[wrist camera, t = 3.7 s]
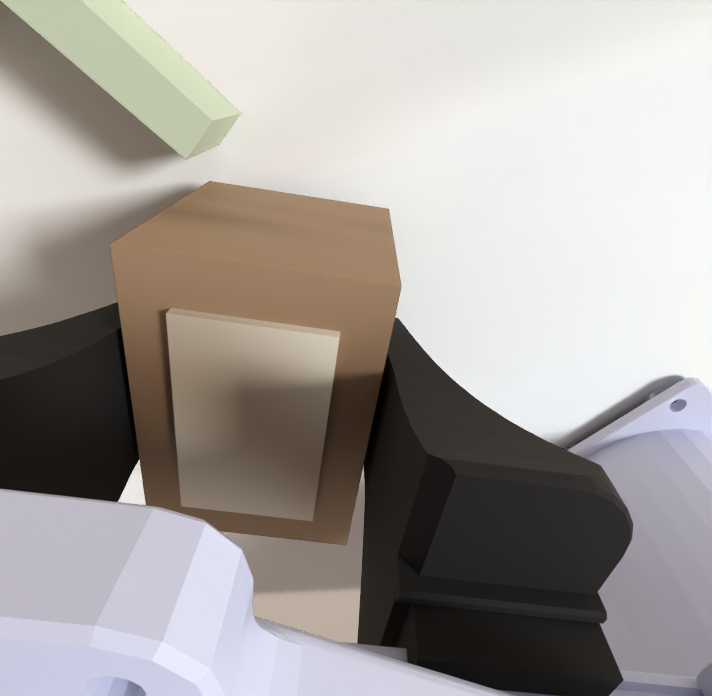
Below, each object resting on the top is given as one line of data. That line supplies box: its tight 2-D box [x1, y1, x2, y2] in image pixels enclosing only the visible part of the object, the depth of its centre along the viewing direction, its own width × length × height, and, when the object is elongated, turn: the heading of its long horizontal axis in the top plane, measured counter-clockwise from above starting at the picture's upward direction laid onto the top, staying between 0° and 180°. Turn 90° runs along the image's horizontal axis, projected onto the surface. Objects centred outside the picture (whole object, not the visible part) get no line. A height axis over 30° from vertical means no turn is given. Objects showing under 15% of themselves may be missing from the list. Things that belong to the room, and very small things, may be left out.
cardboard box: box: [110, 181, 401, 545], centre depth 11 cm, size 6×4×5 cm
